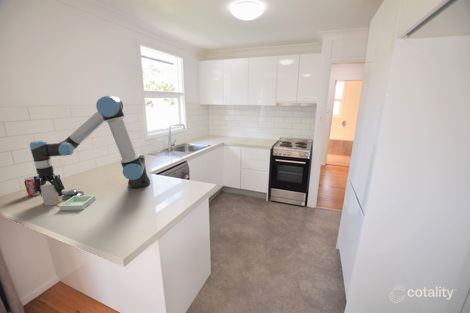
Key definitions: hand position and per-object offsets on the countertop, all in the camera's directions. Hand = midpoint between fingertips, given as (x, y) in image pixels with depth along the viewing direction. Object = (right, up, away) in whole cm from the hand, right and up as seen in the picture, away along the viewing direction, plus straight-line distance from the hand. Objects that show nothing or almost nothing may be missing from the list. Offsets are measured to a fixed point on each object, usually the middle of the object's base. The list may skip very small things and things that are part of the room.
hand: (53, 200), depth 133 cm
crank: (+3, +3, +7) cm, 8 cm away
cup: (0, -1, 0) cm, 1 cm away
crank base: (+7, +1, +8) cm, 10 cm away
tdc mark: (+8, -1, -2) cm, 8 cm away
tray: (+19, -2, -3) cm, 19 cm away
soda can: (-21, +2, +11) cm, 24 cm away
